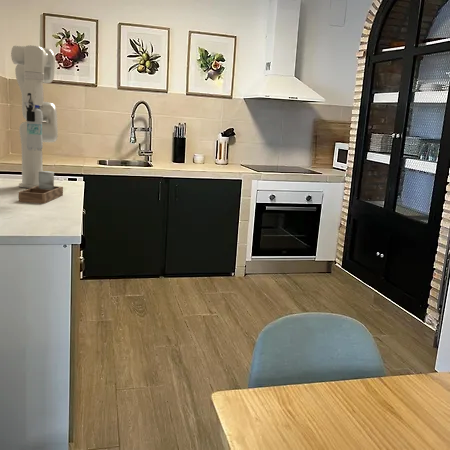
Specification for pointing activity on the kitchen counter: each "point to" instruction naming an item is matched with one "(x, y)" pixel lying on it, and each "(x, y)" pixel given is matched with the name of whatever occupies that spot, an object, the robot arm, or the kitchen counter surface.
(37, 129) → the bottle
